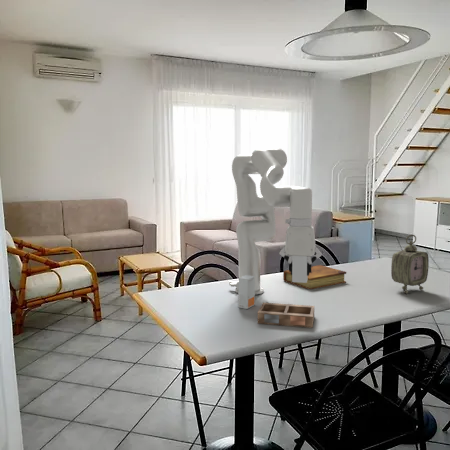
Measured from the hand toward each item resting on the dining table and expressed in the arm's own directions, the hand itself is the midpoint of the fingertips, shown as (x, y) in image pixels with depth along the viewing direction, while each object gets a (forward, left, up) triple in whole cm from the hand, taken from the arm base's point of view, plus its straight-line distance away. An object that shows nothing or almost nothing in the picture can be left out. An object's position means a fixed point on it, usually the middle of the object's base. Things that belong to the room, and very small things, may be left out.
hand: (300, 273), depth 155 cm
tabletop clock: (+43, +50, -17) cm, 69 cm away
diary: (+2, +57, -18) cm, 60 cm away
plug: (0, 0, -2) cm, 2 cm away
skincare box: (-22, +12, -18) cm, 30 cm away
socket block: (-5, 0, -17) cm, 18 cm away
